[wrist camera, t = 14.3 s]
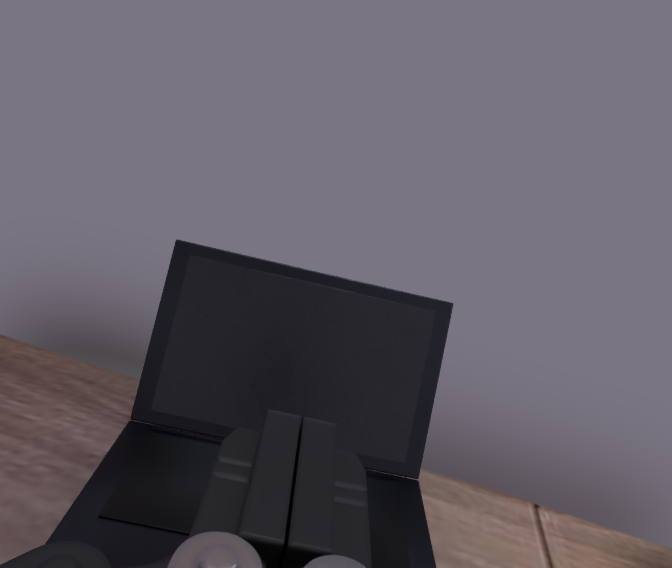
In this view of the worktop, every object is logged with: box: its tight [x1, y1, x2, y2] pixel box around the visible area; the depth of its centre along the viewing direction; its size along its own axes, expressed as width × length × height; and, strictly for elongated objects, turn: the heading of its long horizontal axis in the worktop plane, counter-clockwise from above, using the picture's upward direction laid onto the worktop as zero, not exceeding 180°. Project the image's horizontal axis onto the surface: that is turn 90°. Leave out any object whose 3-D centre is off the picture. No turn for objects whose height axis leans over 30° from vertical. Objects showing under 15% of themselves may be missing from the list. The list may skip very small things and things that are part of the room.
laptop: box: [45, 421, 436, 568], centre depth 24 cm, size 10×16×2 cm, turn 89°
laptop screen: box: [131, 240, 453, 479], centre depth 30 cm, size 10×16×1 cm
